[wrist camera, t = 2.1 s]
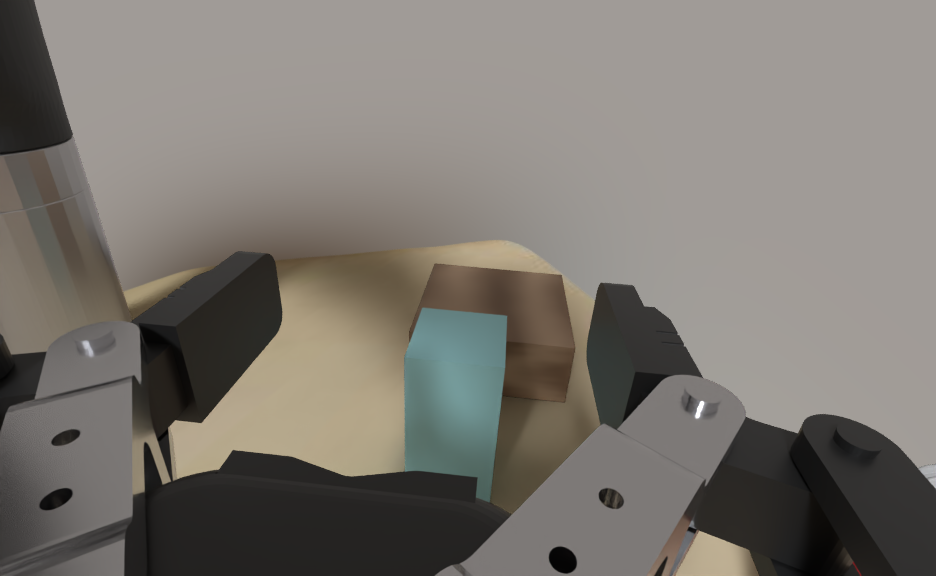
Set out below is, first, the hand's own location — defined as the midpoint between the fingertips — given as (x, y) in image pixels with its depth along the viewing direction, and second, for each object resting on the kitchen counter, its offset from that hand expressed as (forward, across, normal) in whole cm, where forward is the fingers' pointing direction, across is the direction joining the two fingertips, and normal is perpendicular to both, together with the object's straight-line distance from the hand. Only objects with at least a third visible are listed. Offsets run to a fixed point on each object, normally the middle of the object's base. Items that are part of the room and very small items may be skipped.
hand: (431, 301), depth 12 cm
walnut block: (+25, -2, +18) cm, 31 cm away
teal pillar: (+12, 0, +18) cm, 22 cm away
